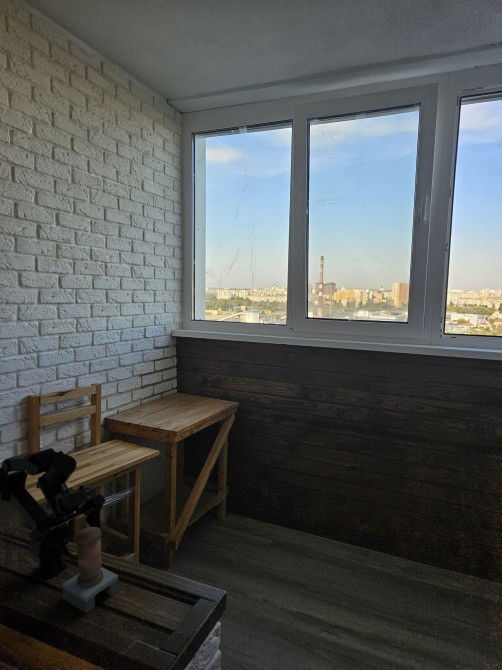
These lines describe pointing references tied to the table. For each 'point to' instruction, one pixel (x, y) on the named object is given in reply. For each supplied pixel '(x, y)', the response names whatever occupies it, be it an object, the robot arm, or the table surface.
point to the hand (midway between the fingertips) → (85, 546)
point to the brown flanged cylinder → (89, 557)
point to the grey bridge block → (89, 591)
